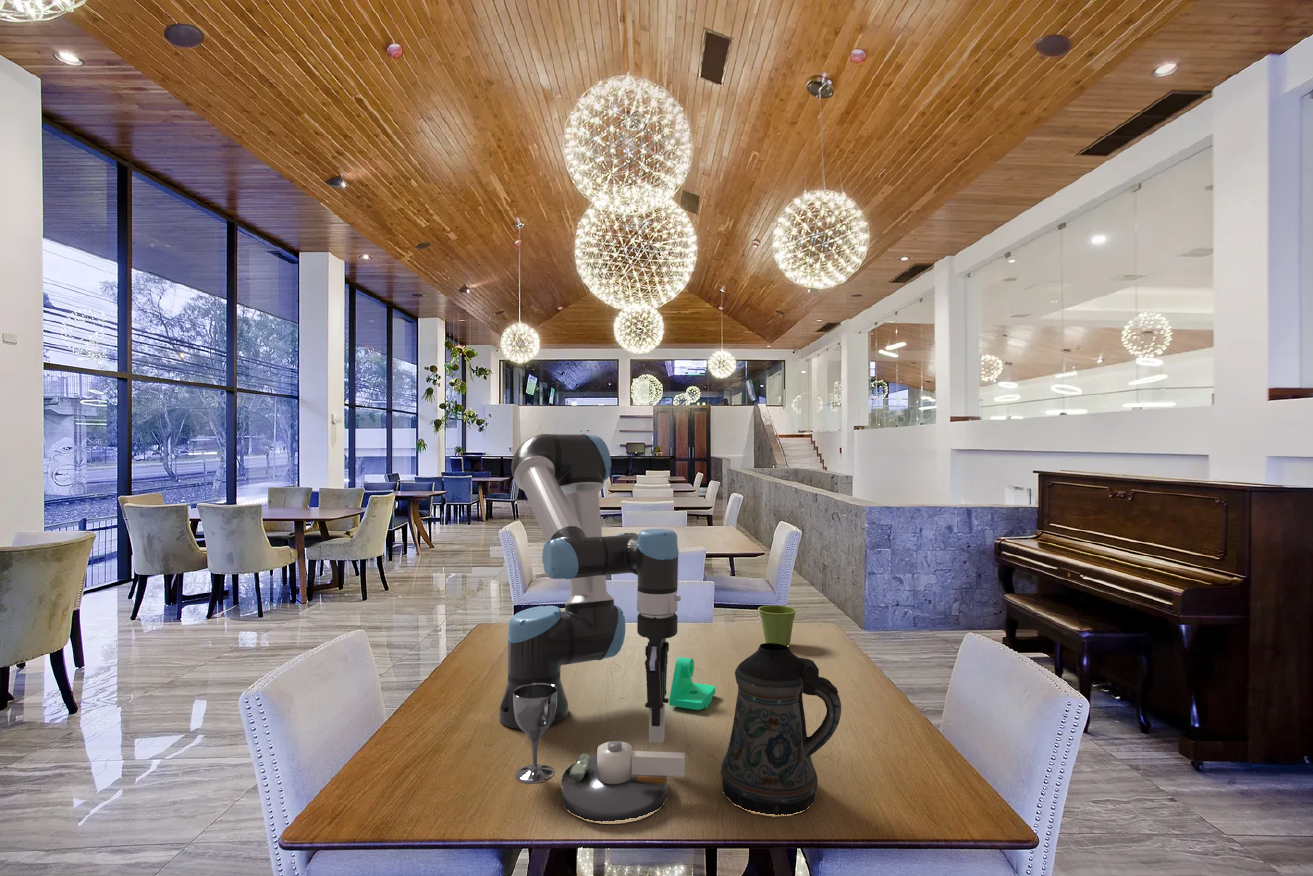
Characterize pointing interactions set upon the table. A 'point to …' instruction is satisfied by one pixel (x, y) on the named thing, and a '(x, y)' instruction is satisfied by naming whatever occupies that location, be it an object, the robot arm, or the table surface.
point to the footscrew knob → (635, 763)
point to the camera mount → (689, 687)
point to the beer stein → (776, 732)
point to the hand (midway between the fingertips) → (656, 740)
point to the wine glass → (534, 723)
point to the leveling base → (609, 793)
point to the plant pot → (777, 623)
